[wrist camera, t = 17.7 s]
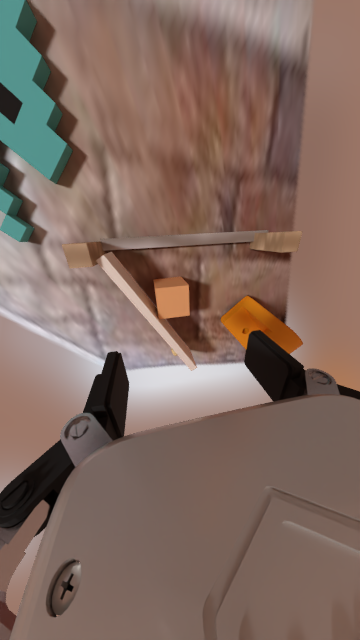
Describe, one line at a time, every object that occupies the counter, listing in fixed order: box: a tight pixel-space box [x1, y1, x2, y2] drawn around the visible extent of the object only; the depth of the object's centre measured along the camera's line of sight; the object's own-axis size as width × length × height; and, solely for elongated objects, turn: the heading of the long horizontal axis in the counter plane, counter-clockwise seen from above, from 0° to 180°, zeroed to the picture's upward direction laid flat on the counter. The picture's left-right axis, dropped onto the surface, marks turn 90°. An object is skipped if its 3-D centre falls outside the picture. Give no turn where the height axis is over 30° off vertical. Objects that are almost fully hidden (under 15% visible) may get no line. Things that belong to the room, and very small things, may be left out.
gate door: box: [96, 252, 197, 371], centre depth 28 cm, size 2×24×6 cm, turn 33°
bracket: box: [221, 296, 303, 354], centre depth 32 cm, size 11×7×12 cm
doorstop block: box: [153, 277, 190, 319], centre depth 28 cm, size 5×5×6 cm
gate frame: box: [62, 230, 302, 268], centre depth 24 cm, size 3×30×8 cm, turn 93°
